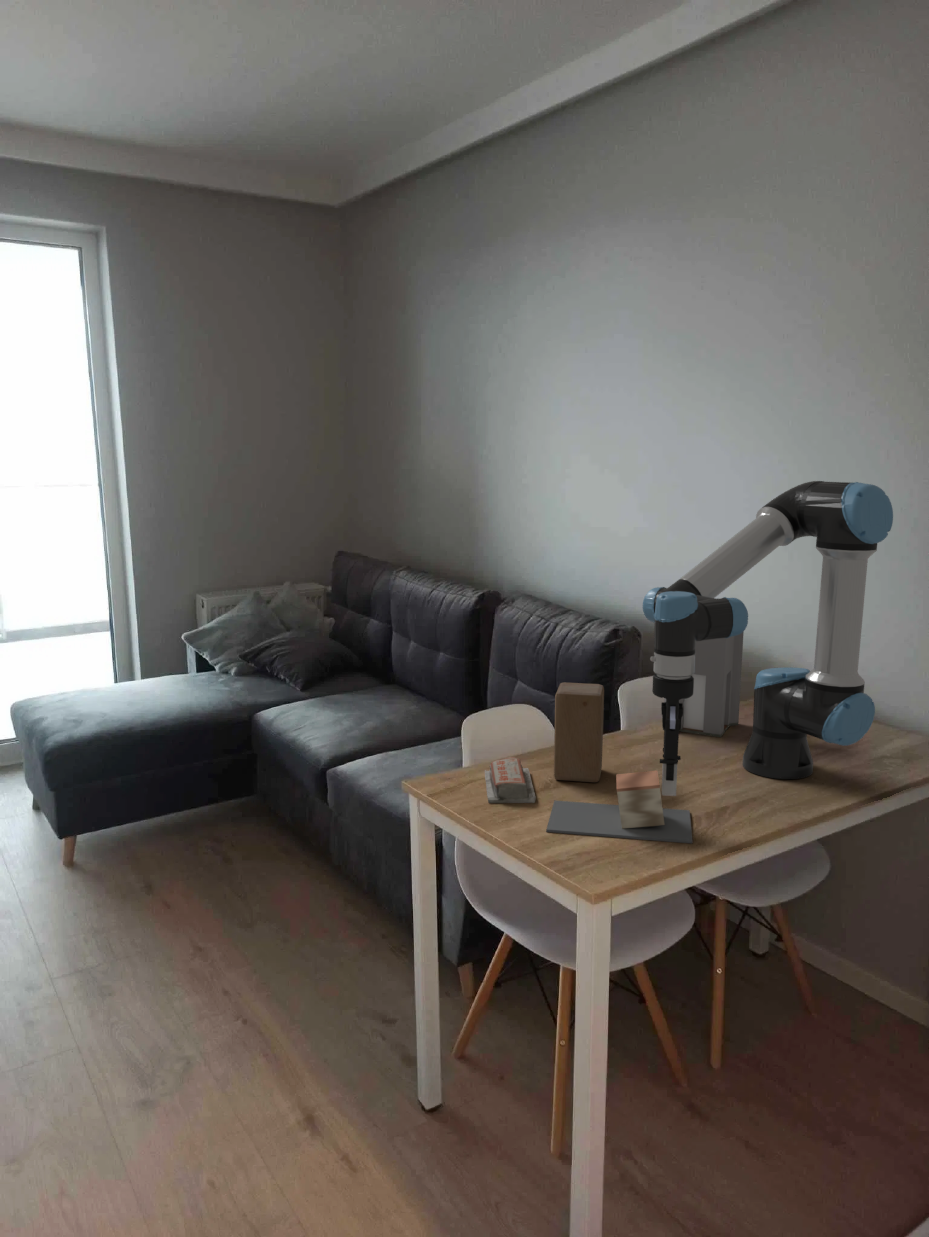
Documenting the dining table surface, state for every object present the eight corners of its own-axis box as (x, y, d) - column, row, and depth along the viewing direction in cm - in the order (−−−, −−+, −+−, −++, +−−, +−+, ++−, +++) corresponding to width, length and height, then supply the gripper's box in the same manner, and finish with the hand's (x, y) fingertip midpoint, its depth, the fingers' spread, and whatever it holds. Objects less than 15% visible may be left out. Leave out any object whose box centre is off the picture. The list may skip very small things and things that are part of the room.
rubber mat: (689, 812, 188) (689, 810, 188) (692, 843, 174) (692, 840, 174) (554, 802, 194) (554, 800, 193) (546, 831, 179) (546, 829, 179)
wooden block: (599, 784, 204) (601, 694, 200) (553, 781, 206) (554, 692, 202) (602, 768, 214) (604, 683, 210) (557, 765, 216) (559, 681, 212)
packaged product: (536, 782, 193) (488, 783, 192) (536, 805, 194) (488, 805, 193) (528, 753, 210) (484, 754, 210) (528, 774, 211) (484, 775, 211)
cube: (662, 808, 186) (657, 770, 184) (664, 824, 178) (659, 784, 177) (621, 812, 187) (616, 774, 186) (621, 828, 179) (616, 788, 178)
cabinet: (735, 723, 248) (740, 618, 243) (755, 734, 239) (762, 625, 234) (662, 729, 243) (667, 622, 237) (681, 741, 234) (686, 630, 228)
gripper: (652, 665, 183) (648, 781, 188) (653, 682, 171) (648, 805, 175) (692, 667, 182) (687, 783, 186) (695, 684, 169) (690, 808, 174)
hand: (668, 794), depth 181 cm, fingers closed
